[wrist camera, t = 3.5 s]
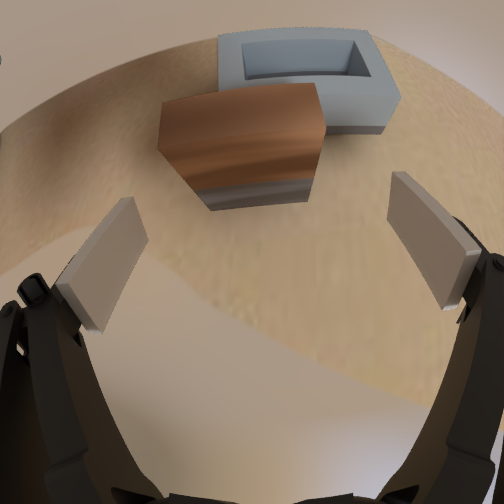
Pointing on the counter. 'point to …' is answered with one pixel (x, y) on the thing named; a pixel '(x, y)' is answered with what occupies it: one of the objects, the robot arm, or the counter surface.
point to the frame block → (316, 71)
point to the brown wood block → (245, 144)
